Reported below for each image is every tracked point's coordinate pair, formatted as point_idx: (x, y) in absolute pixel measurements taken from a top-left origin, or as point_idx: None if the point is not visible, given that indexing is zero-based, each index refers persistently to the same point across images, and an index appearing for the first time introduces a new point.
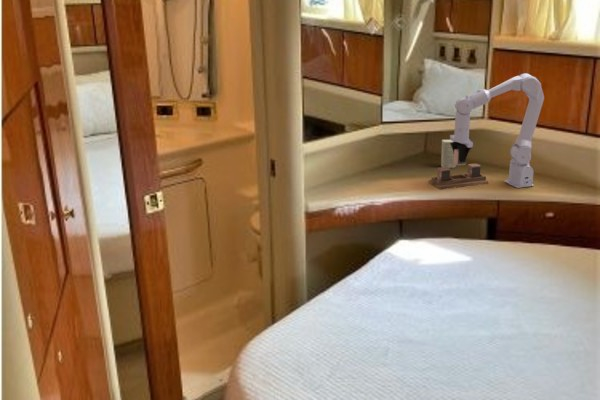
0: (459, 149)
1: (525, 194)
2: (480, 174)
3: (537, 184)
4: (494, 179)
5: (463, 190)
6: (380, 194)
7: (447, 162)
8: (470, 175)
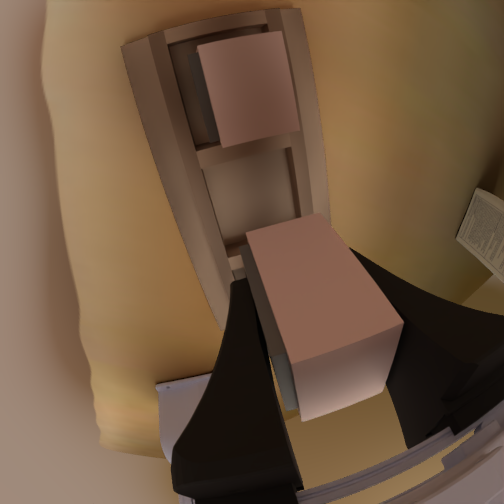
0: (222, 419)
1: (94, 384)
2: None
3: None
4: None
5: (100, 189)
6: None
7: (483, 218)
8: None
